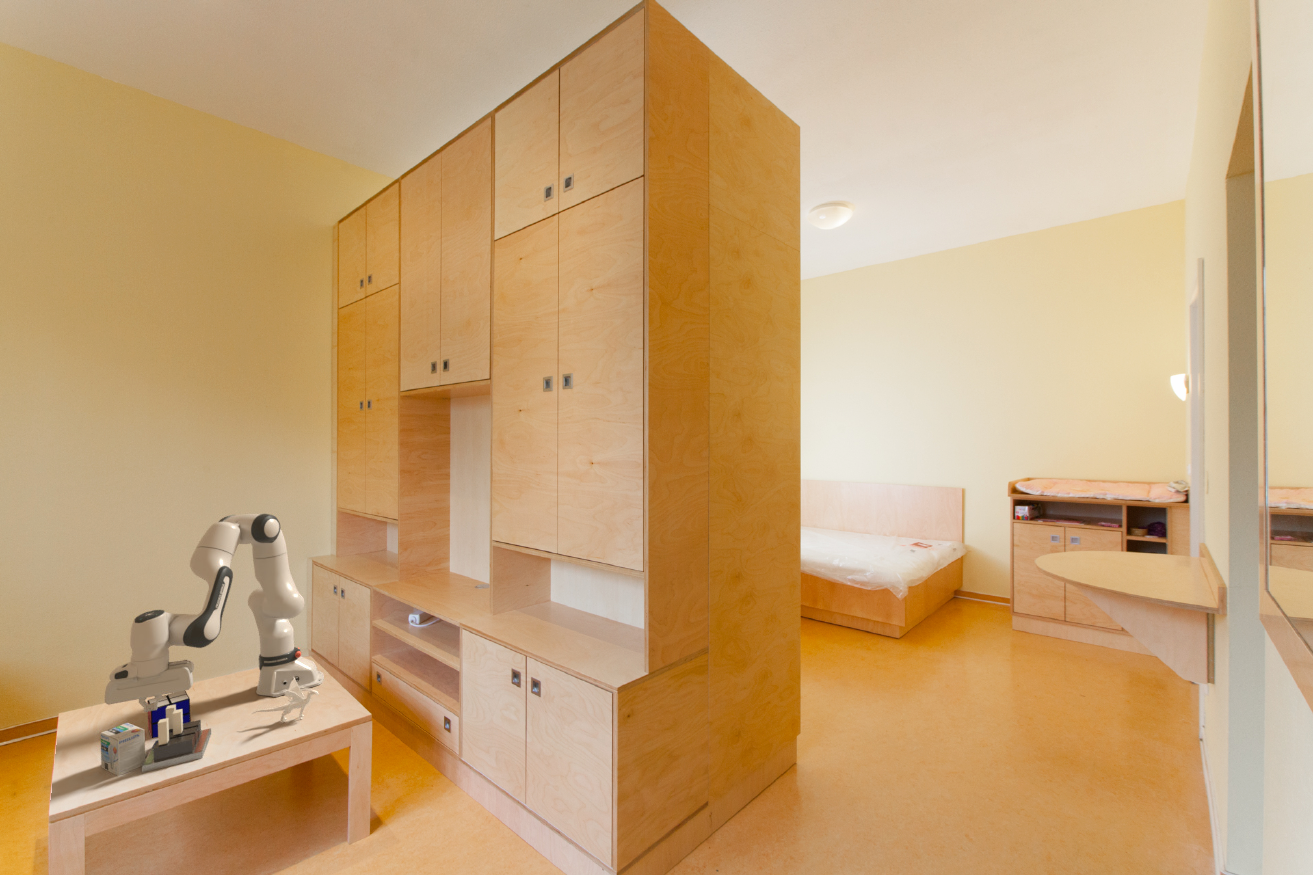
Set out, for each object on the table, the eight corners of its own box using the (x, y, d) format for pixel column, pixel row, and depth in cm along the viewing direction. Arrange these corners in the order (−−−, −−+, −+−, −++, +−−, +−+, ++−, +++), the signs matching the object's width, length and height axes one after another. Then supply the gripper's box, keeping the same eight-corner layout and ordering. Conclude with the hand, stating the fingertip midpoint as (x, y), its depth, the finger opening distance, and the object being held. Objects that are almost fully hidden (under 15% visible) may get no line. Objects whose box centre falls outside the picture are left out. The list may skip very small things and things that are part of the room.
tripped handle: (183, 729, 178) (182, 708, 178) (181, 733, 176) (180, 711, 176) (174, 731, 177) (174, 710, 177) (173, 735, 175) (172, 713, 175)
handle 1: (169, 739, 173) (168, 717, 172) (167, 743, 171) (166, 721, 170) (160, 741, 172) (159, 719, 171) (158, 745, 170) (157, 723, 169)
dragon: (316, 722, 194) (315, 685, 193) (246, 734, 186) (245, 696, 186) (322, 707, 204) (321, 672, 204) (256, 718, 197) (255, 681, 197)
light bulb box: (100, 767, 169) (99, 732, 169) (128, 755, 175) (127, 721, 175) (118, 776, 165) (117, 740, 164) (146, 764, 171) (145, 728, 171)
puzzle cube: (151, 739, 185) (150, 709, 184) (147, 728, 191) (146, 699, 191) (191, 727, 192) (190, 698, 192) (185, 717, 199) (185, 689, 199)
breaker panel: (211, 733, 187) (210, 716, 187) (202, 757, 173) (201, 738, 173) (155, 746, 180) (155, 728, 180) (142, 772, 166) (141, 752, 166)
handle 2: (176, 724, 181) (175, 704, 181) (174, 728, 179) (174, 707, 179) (168, 726, 180) (167, 705, 180) (166, 730, 178) (165, 709, 178)
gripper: (195, 655, 181) (195, 697, 181) (109, 668, 171) (109, 714, 171) (191, 661, 176) (191, 706, 176) (102, 676, 165) (102, 723, 165)
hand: (150, 710), depth 173 cm, fingers closed
